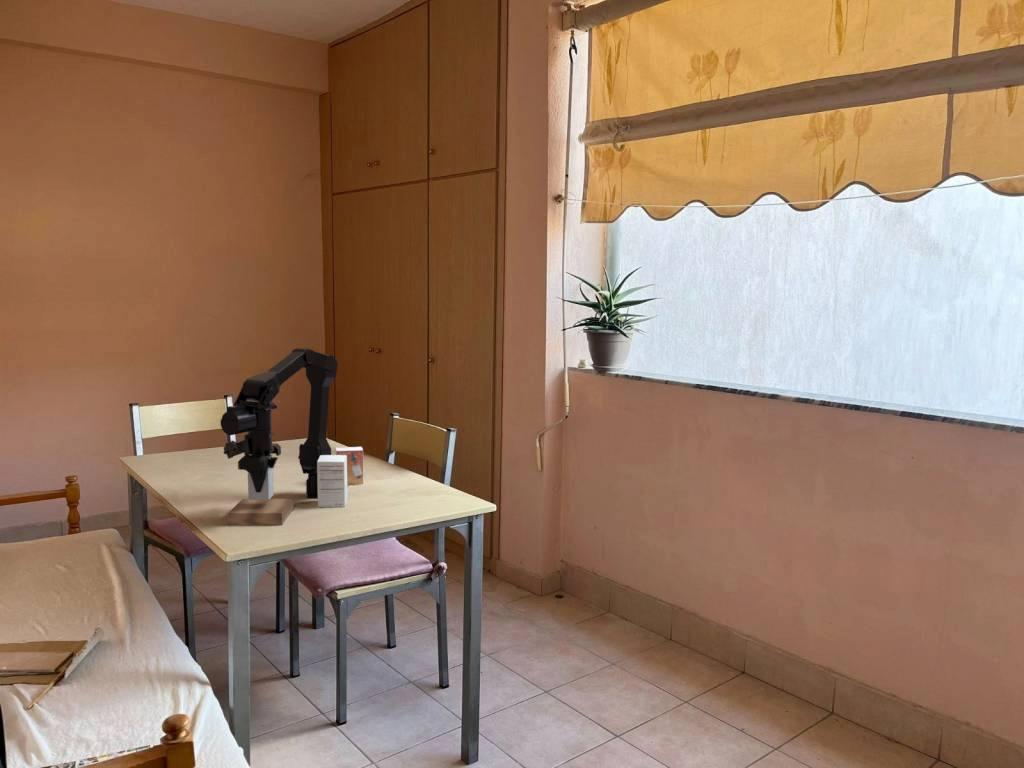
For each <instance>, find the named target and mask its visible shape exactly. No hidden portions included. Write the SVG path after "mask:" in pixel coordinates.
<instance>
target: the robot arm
mask: <svg viewBox="0 0 1024 768" xmlns="http://www.w3.org/2000/svg"><path fill="white" fill-rule="evenodd" d="M338 366H339V365H338V360H337V359H336V357H335V356H334V355H333V354H324V353H320V352H317V351H315V350H313V349H311V348H308V347H307V348H304V347H303V348H302V347H296V348H294V349H292V350H291V353H289V354H287V356H285V357H284V358H283V359H281V360H280V361H279V362H278V363H276V364H275V365H273V366H272V367H271V368H270V369H268V370H267V371H265V372H261V373H258V374H254V375H253V376H251V377H249V378H247V379H245V380H244V382H242V387H241V389H240V391H239V393H238V395H237V397H236V400H235V401H234V403H233V406H232V405H231V406H230V405H229V406H227V407H226V411H225V412H224V413H223V414H222V416H221V419H220V422H219V423H220V427H221V430H222V432H224V433H225V434H226V435H228V436H234V435H235V436H236V435H239V434H243V433H245V434H244V438H241V439H239V440H236V441H234V440H231V441H227V442H225V444H224V445H225V446H224V447H223V454H224V455H226V457H227V459H229V460H230V459H232V458H234V457H235V456H239V455H241V454H244V456H242V457H241V458H240V459H239V460H238V461H237V470H241V471H242V470H244V471H246V472H247V473H248V472H249V473H250V475H251V478H252V481H253V484H254V487H255V490H256V492H261V490H262V487H263V484H264V481H265V478H266V475H267V472H268V469H269V468H273V469H274V467H276V463H277V462H278V459H279V456H280V455H281V454H282V446H281V445H280V444H279V443H277V442H275V443H273V436H274V435H275V433H274V432H275V431H274V430H273V429H272V427H273V426H272V423H273V422H272V410H276V409H278V406H277V404H275V403H274V402H273V399H275V397H276V396H277V395H278V394H279V393H280V389H281V386H282V385H283V384H284V383H286V382H287V381H288V380H289V379H291V377H293V376H294V375H295V374H297V373H298V372H299V371H301V370H302V369H305V377H306V378H307V381H308V383H309V385H310V393H309V394H310V397H309V412H308V414H309V415H308V426H307V438H306V439H305V441H304V442H303V443H300V444H299V446H298V449H299V450H298V451H299V453H298V457H297V459H298V461H299V465H300V468H301V471H302V473H303V475H306V474H307V478H306V479H305V491H306V493H305V494H306V498H307V499H308V498H309V499H310V498H311V499H313V498H314V499H315V498H317V499H318V487H317V461H318V459H319V457H320V455H332V448H331V445H330V443H329V441H328V439H327V429H328V415H329V398H330V387H331V385H332V384H333V382H334V381H335V379H336V377H337V372H338ZM273 454H275V455H276V456H278V457H276V456H275V457H273Z"/></svg>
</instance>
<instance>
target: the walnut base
mask: <svg viewBox="0 0 1024 768" xmlns="http://www.w3.org/2000/svg"><path fill="white" fill-rule="evenodd" d="M293 511H294V498H270V499H269V500H248V498H242V499H240V501H239V502H237V503H236V504H235V506H234V507H233V508H231V509H230V510H229V511H228V513H227V525H228V526H283V524H284V523H285V522H286V521H287V519H288V518H289V517H290V515H291V514H292V512H293Z"/></svg>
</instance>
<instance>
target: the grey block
mask: <svg viewBox="0 0 1024 768" xmlns="http://www.w3.org/2000/svg"><path fill="white" fill-rule="evenodd" d="M274 487H275V486H274V468H269V469H268V472H267V475H266V478H265V481H264V484H263V487H262V490H261V492H256V490H255V487H254V484H253V481H252V478H251V475H250V473H249V472H247V492H248V493H247V494H248V495H247V496H248V498H247V499H248V500H269V499H272V497H273V496H274Z"/></svg>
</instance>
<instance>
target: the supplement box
mask: <svg viewBox="0 0 1024 768" xmlns="http://www.w3.org/2000/svg"><path fill="white" fill-rule="evenodd" d="M317 487H318V498H317V507H318V508H345V507H346V505H347V502H348V498H349V497H348V485H347V455H335V454H331V455H320V457H319V459H318V461H317Z"/></svg>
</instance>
